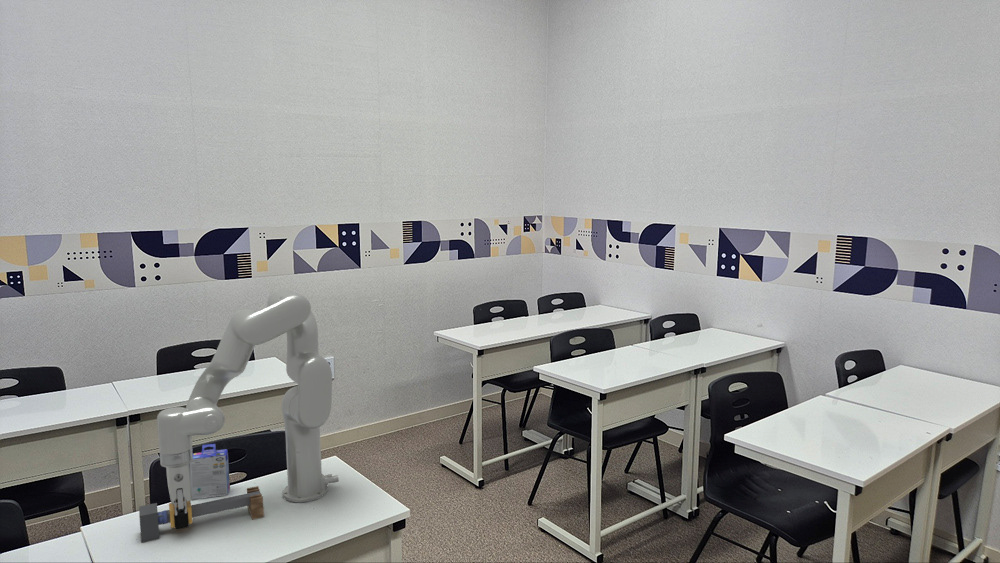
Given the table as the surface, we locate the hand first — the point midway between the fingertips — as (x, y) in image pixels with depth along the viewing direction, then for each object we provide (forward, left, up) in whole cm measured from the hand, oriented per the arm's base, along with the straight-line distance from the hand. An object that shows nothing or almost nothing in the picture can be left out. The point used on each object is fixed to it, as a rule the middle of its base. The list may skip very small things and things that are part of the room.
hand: (181, 522), depth 169 cm
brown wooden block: (-18, 0, -2) cm, 18 cm away
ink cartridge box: (-9, -18, -2) cm, 20 cm away
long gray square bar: (-6, 0, +1) cm, 6 cm away
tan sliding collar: (0, 0, 0) cm, 0 cm away
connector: (+7, 0, -2) cm, 7 cm away
